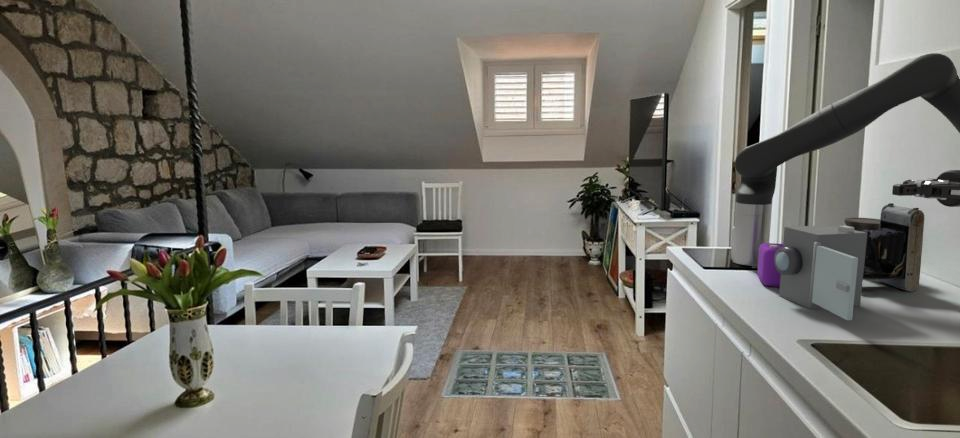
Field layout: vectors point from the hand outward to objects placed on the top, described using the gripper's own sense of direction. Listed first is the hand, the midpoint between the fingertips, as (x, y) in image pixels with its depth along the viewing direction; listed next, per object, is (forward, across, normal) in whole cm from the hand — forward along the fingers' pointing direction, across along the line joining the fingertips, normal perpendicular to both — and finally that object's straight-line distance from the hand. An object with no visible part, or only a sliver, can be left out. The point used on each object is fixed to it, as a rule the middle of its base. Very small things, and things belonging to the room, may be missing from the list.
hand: (895, 189), depth 118 cm
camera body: (+8, -9, +26) cm, 29 cm away
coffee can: (-23, -30, +26) cm, 46 cm away
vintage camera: (-14, -17, +26) cm, 34 cm away
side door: (+15, +2, +24) cm, 28 cm away
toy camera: (+5, -26, +26) cm, 37 cm away
